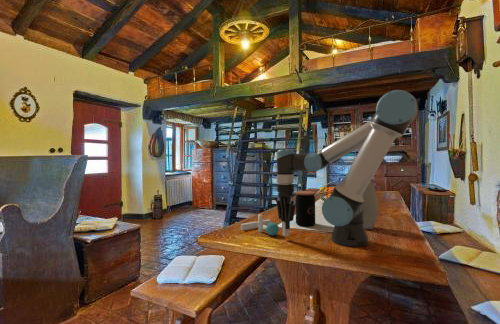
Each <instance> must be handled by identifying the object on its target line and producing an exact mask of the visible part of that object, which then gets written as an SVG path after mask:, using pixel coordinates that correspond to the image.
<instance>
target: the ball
mask: <svg viewBox="0 0 500 324" xmlns="http://www.w3.org/2000/svg"><path fill="white" fill-rule="evenodd" d="M266 230H267V231H266V233H267V234H268V236H275V235H277V234H279V230H280V229H279V225H278V224H277V223H276V222H271V223H269V224H268V225H267V227H266Z"/></svg>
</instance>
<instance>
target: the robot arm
mask: <svg viewBox="0 0 500 324" xmlns="http://www.w3.org/2000/svg"><path fill="white" fill-rule="evenodd" d="M418 114H419V107H418V102H417V99H416V97H415V96H414V95H413V94H411V93H410V92H408V91H406V90H401V89H394V90H390V91H388V92H387V93H384V94H383V95H382V96H381V97H380V98H379V100H378V101H377V104H376V107H375V113H374V114H373V116H372V118H371V120H370V121H369V120H368V122H366V123H364V124H363V125H361V126H358V127H357V128H356V129H354V130H353V131H350V132H349V133H347V134H345V135H344V136H342V137H340V138H338V139H337V140H336V141H334V142H332V143H330V144H328V145H327V146H324V147H323V148H322V149H321V150H319V151H316V152H314V153H313V152H311V153H294V149H278V150H277V151H276V172H277V173H276V183H277V184H276V191H277V193H278V195H277V197H275V198H274V199H275V203H276V208H277V214H278V215H277V216H278V219H279V220H281V227H282V236H283V237H289V236H290V229H291V222H293V221H294V217H295V213H296V204H297V201H296V199H294V196H293V195H294V194H293V193H294V192H295V184H293V183H295V180H294V179H295V177H294V175H295V172H297V171H299V172H317V171H320V170H323V169H325V168H326V167H328V165H330V164H333V162H336V161H337V160H339V159H341V158H342V157H345V156H346V155H348V154H351V153H352V152H354V151H356V150H357V149H359V148H360V149H359V151H358V153H357V154H356V155H355V158H354V160H353V162H352V164H351V166H350V167H349V169H348V171H347V173H346V175H345V177H344V178H343V180H342V182H341V183H340V184H336V185H335V186H334V188H333V189H332V191H331V193H330V195H329V197H327V198H326V199H325V200H324V201H323V202H322V204H321V213H322V216H323V218H324V219H325V221H326V222H327V223H328V224H330V225H333V226H334V227H333V229H332V233H331V241H332V242H333V243H335V244H338V245H340V246H344V247H345V246H346V247H364V246H367V245H368V244H369V236H368V234H367V231H366V230H367V229H365V227H364V195H363V193H364V191H365V189H366V188H367V186H368V184H369V183H370V181H372V179H373V177H374V176H375V174H376V172H377V170H378V169H379V167H380V165H381V164H382V162H383V160H384V159H385V157H386V155H387V153H388V152H389V150H390V148H391V147H392V145H393V143H394V141H395V140H396V139H397V138H400V137H403V136H404V133H405V132H406V130H407V129H408V128H409V126H410V125H411V124H413V122H415V121H416V119H417V117H418Z"/></svg>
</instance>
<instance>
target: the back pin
mask: <svg viewBox="0 0 500 324" xmlns="http://www.w3.org/2000/svg"><path fill="white" fill-rule="evenodd" d="M257 219H258V220H257V221H258V228H257V229H258V230H257V231H258V233H263V232H264V230H263V220H264V214H260V213H259V214H258V215H257Z"/></svg>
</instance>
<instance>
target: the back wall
mask: <svg viewBox="0 0 500 324" xmlns="http://www.w3.org/2000/svg"><path fill="white" fill-rule="evenodd" d="M269 223H272V220H271V219H269V218H268V219H263V225H266V226H267V225H268V224H269ZM254 229H258V220H257V221H250V222H245V223H240V230H241V231H248V230H254Z"/></svg>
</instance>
